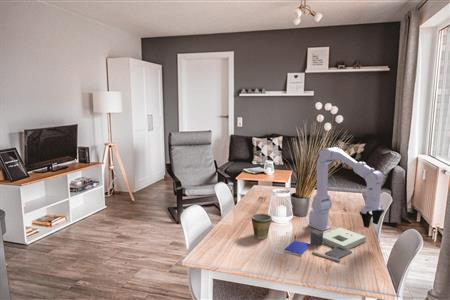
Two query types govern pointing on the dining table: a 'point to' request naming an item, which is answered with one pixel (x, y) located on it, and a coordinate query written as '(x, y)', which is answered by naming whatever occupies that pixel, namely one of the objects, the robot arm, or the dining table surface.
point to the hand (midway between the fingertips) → (370, 225)
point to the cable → (326, 256)
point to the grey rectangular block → (316, 238)
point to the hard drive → (297, 248)
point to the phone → (338, 252)
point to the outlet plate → (343, 238)
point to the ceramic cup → (261, 225)
